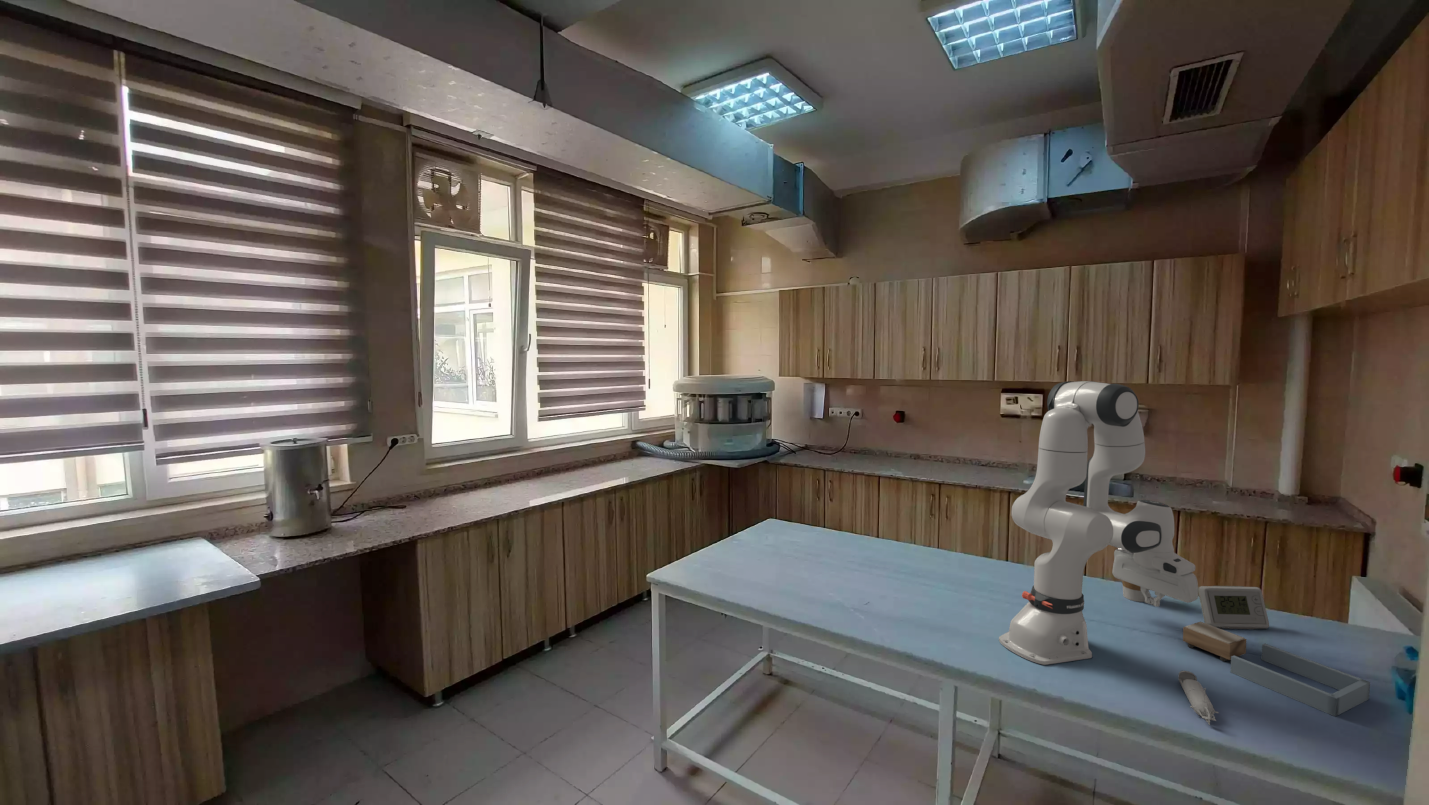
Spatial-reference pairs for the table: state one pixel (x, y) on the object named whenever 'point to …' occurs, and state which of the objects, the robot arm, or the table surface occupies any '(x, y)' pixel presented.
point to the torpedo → (1196, 695)
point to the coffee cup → (1132, 592)
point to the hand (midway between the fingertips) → (1152, 604)
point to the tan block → (1214, 640)
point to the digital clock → (1233, 607)
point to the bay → (1333, 704)
